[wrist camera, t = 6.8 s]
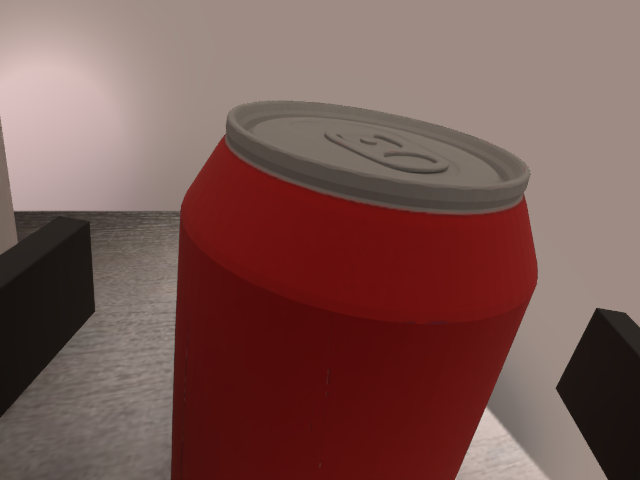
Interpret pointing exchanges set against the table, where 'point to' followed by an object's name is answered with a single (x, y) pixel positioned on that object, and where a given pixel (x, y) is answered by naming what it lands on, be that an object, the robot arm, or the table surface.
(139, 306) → the table surface
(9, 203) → the mug
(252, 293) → the beverage can
